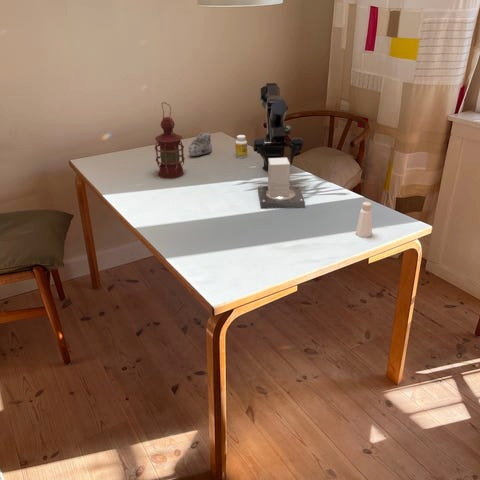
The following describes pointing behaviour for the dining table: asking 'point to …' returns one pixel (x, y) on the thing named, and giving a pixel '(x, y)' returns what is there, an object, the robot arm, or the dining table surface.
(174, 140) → the lantern
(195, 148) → the mineral rock
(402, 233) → the dining table surface
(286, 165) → the supplement box
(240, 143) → the supplement bottle
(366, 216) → the pepper shaker
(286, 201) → the motor mount
